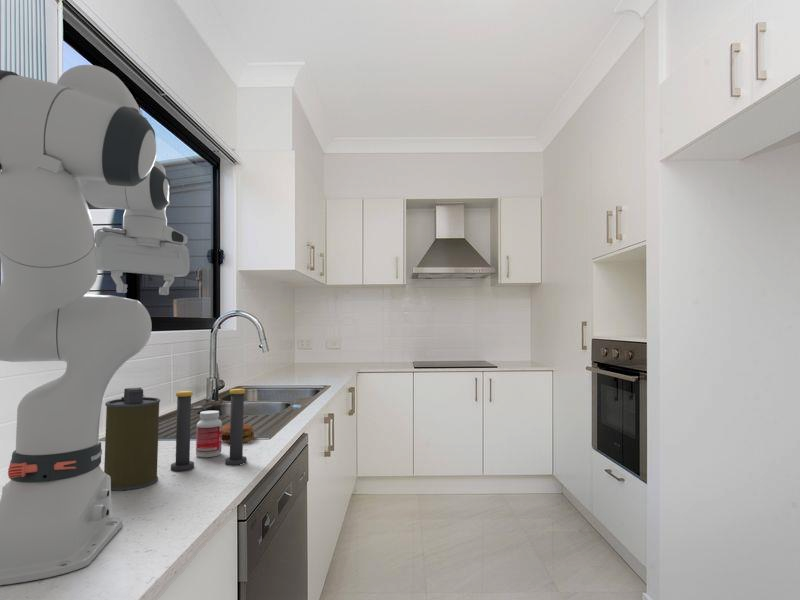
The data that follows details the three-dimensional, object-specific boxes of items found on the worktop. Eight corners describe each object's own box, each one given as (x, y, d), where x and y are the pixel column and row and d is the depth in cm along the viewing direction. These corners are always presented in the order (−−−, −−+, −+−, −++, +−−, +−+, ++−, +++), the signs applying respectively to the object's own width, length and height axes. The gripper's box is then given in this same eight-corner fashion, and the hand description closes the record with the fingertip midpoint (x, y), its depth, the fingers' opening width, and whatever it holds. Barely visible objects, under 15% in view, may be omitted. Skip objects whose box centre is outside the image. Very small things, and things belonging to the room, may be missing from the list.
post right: (247, 464, 118) (249, 390, 119) (225, 466, 116) (227, 391, 117) (245, 459, 123) (247, 387, 124) (224, 461, 121) (226, 388, 122)
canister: (164, 483, 104) (167, 389, 105) (109, 494, 97) (112, 393, 98) (149, 471, 112) (151, 384, 113) (96, 481, 105) (100, 387, 106)
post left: (193, 469, 114) (195, 392, 114) (170, 472, 112) (172, 394, 112) (193, 464, 118) (195, 390, 119) (171, 466, 116) (173, 391, 117)
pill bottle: (223, 455, 126) (224, 412, 126) (198, 459, 122) (199, 415, 123) (218, 450, 131) (219, 408, 131) (193, 453, 127) (194, 411, 128)
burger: (236, 435, 149) (237, 419, 149) (260, 438, 145) (260, 423, 145) (211, 442, 140) (211, 426, 140) (235, 446, 136) (236, 429, 136)
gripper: (102, 223, 100) (100, 290, 100) (194, 237, 117) (192, 295, 116) (88, 226, 104) (86, 291, 103) (179, 240, 121) (178, 296, 120)
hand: (143, 293), depth 110 cm, fingers open, 8 cm apart
